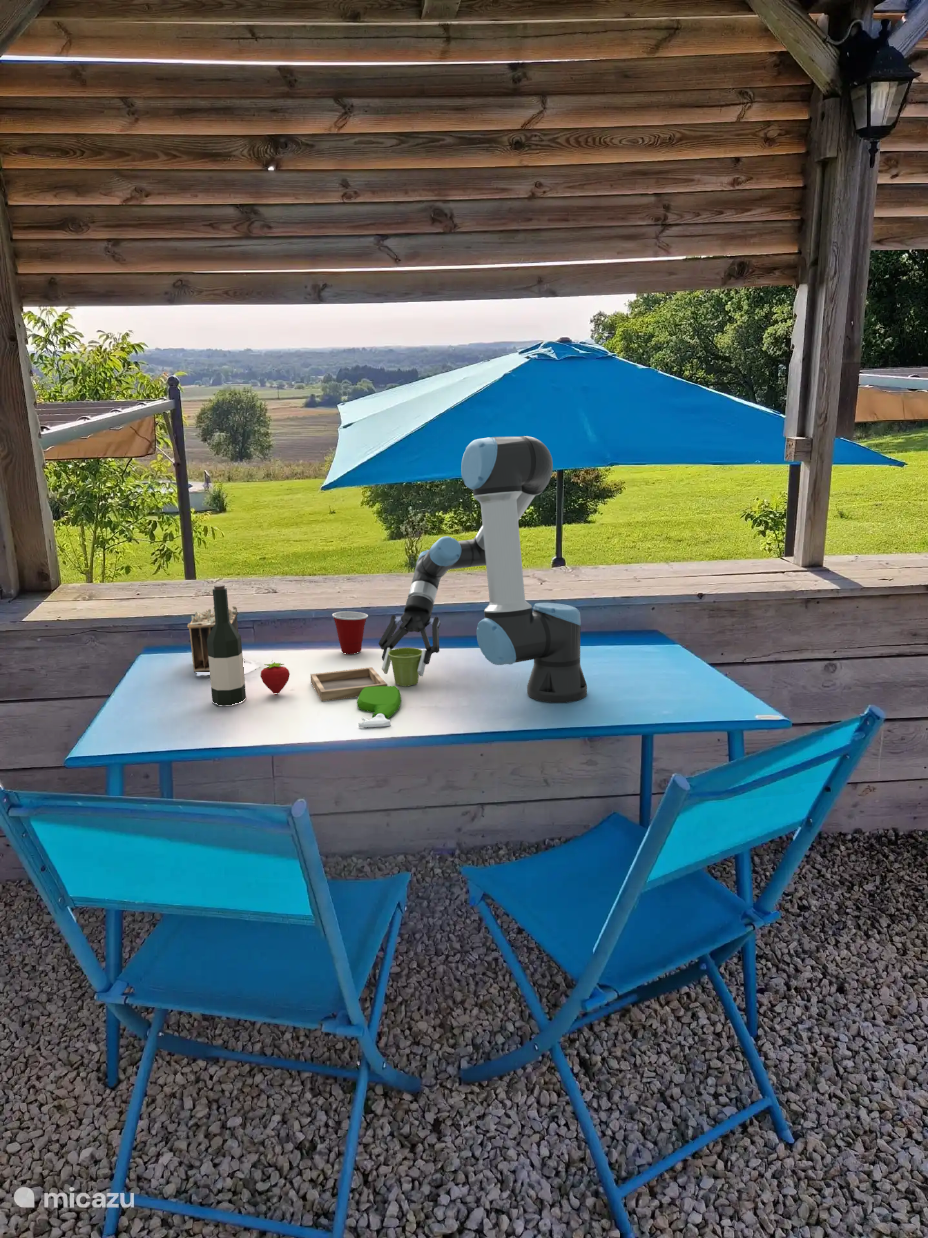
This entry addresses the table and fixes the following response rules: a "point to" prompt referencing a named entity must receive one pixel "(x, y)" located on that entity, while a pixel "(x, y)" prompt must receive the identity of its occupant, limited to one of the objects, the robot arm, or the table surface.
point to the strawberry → (275, 676)
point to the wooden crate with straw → (204, 636)
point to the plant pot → (405, 665)
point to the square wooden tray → (345, 683)
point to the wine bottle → (225, 654)
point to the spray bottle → (379, 704)
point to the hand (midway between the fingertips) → (402, 672)
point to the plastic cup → (350, 630)
